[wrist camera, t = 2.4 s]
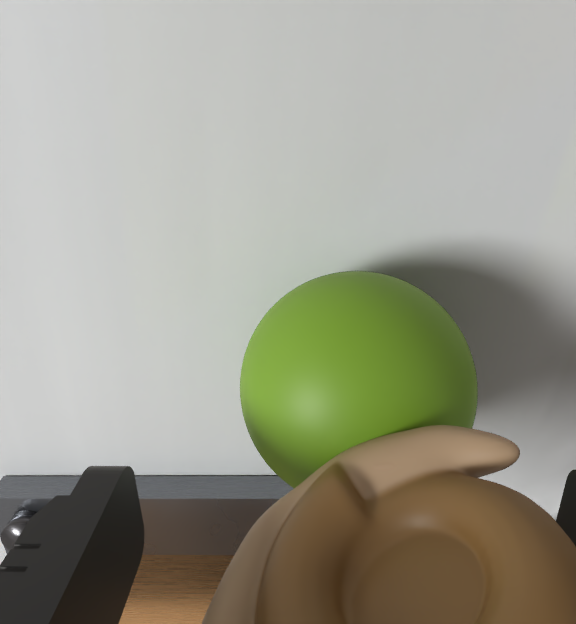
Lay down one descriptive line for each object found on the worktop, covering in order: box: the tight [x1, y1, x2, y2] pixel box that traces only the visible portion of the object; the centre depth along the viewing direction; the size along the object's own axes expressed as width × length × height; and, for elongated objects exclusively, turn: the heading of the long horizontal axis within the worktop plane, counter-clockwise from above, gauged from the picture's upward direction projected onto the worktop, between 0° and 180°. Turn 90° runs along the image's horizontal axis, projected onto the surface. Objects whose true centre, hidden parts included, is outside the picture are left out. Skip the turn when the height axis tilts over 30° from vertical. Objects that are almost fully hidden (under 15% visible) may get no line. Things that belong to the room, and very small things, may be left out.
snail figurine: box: [202, 271, 576, 624], centre depth 9 cm, size 5×6×12 cm
